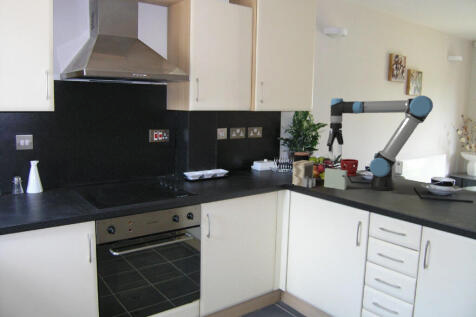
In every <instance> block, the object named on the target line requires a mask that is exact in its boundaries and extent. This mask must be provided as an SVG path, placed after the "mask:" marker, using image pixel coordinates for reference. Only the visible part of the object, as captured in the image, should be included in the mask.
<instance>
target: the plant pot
mask: <svg viewBox="0 0 476 317" xmlns="http://www.w3.org/2000/svg"><path fill="white" fill-rule="evenodd" d="M340 161H341V162H340V170H345V171H347V177H354V176H357V174H358V173H357V171H358V167H359V159H355V158H354V159H353V158H343V159H340Z"/></svg>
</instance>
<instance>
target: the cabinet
mask: <svg viewBox="0 0 476 317" xmlns="http://www.w3.org/2000/svg"><path fill="white" fill-rule="evenodd" d="M314 163H315V161H311V160H309V161H306V160H302V161H297V162H292V184H294V186H299V187H303V186H302V183H303V177H307V176H308V178H311V180H312V184H313V178H314V166H315V165H314ZM292 184H291V185H292Z"/></svg>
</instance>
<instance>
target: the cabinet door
mask: <svg viewBox="0 0 476 317" xmlns="http://www.w3.org/2000/svg"><path fill="white" fill-rule="evenodd" d="M323 179H324V181H323V184H324V185H323V187H324V188H330V189H338V190H343V191H345V190H347V183H348V181H347V179H348V176H347V171H345V170H341V169H337V168H336V169H335V168H330V167H329V168H327V167H326V168H324V178H323Z"/></svg>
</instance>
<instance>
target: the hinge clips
mask: <svg viewBox="0 0 476 317" xmlns="http://www.w3.org/2000/svg"><path fill="white" fill-rule="evenodd" d="M316 180H317V179H316V178H314V177H313V183H312V180H311V178H308V176H307V177H303V183H302V186H301V187H303V188H304V187H305V188H307V187H308V188H312V187H316Z"/></svg>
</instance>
